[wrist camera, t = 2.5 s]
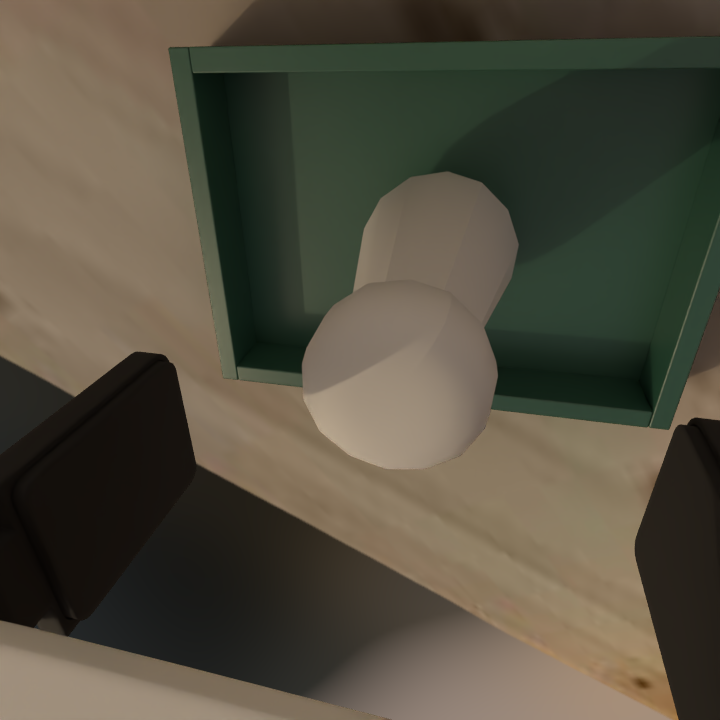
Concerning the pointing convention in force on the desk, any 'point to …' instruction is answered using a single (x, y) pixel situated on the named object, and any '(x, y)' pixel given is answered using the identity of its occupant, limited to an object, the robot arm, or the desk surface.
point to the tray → (481, 163)
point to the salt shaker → (415, 327)
